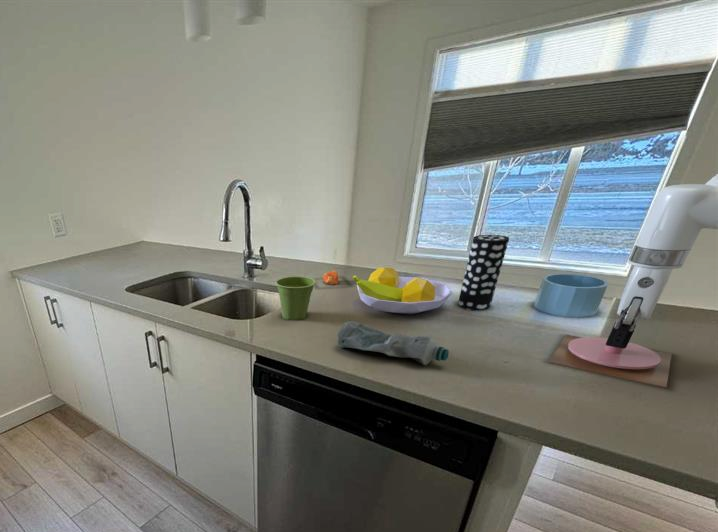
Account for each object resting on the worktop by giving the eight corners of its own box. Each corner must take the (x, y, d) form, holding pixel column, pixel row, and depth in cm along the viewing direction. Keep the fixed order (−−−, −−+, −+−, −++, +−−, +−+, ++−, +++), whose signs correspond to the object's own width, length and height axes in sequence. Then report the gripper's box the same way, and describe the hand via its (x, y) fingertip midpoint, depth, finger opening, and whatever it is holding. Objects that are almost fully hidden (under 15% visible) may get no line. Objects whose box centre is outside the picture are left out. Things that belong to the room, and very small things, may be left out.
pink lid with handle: (573, 336, 97) (586, 303, 93) (660, 352, 87) (680, 317, 83) (560, 358, 88) (574, 323, 84) (655, 379, 79) (676, 341, 75)
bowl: (539, 299, 122) (549, 271, 118) (599, 307, 113) (612, 277, 109) (528, 312, 114) (538, 283, 110) (591, 322, 105) (604, 291, 101)
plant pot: (298, 327, 119) (299, 289, 113) (267, 318, 127) (267, 283, 121) (321, 315, 125) (324, 279, 119) (291, 307, 133) (291, 273, 127)
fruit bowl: (434, 293, 134) (442, 258, 128) (457, 323, 112) (466, 283, 106) (346, 293, 141) (349, 260, 135) (350, 322, 119) (354, 284, 113)
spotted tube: (484, 314, 116) (503, 242, 106) (452, 308, 121) (468, 239, 111) (493, 305, 120) (513, 236, 110) (463, 300, 126) (479, 233, 116)
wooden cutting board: (565, 337, 99) (566, 334, 99) (670, 357, 88) (671, 353, 87) (548, 364, 89) (549, 361, 89) (664, 390, 77) (666, 387, 77)
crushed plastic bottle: (328, 352, 103) (431, 380, 86) (330, 325, 99) (439, 349, 83) (353, 339, 111) (453, 362, 94) (356, 313, 107) (460, 333, 91)
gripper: (684, 268, 70) (636, 362, 79) (687, 249, 79) (644, 335, 89) (625, 263, 75) (586, 352, 84) (635, 246, 84) (599, 327, 93)
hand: (616, 343), depth 86 cm, fingers closed on pink lid with handle, 2 cm apart
